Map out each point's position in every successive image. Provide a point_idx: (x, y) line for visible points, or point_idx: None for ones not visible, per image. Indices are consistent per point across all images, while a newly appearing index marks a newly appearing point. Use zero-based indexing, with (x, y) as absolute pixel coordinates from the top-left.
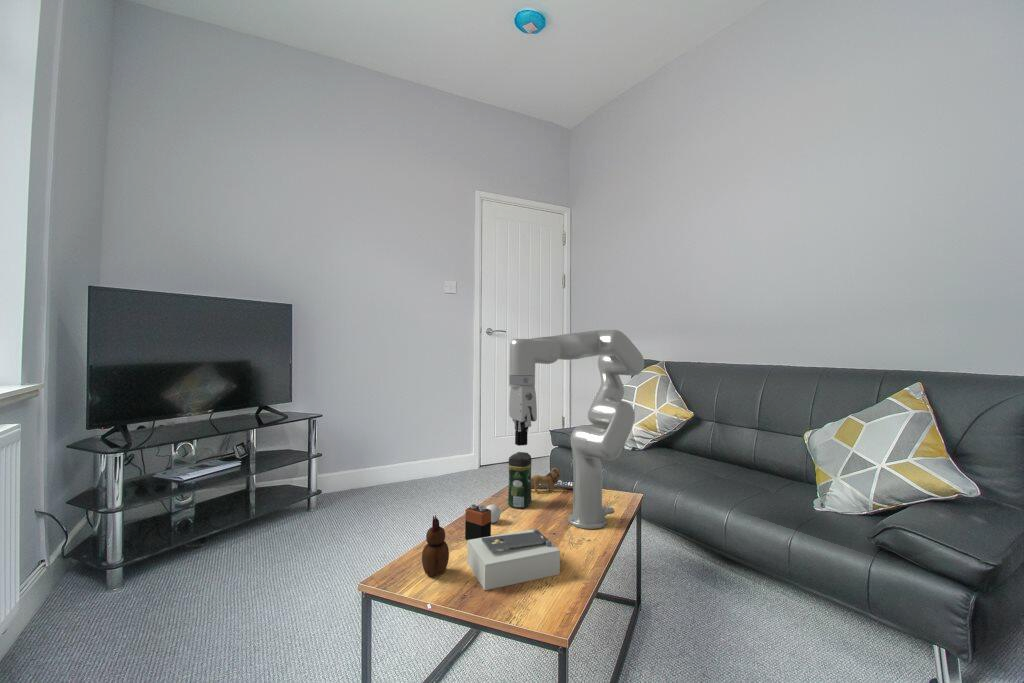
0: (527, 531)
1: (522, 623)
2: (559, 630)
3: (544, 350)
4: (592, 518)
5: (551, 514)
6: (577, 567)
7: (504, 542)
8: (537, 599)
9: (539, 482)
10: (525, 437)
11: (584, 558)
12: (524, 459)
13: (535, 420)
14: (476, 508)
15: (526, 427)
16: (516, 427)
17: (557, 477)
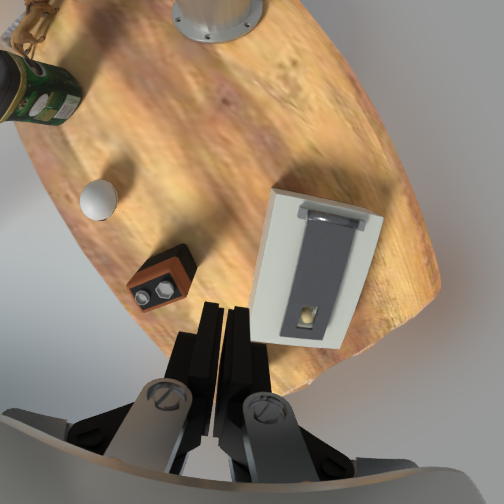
0: (277, 219)
1: (404, 316)
2: (435, 289)
3: None
4: (249, 9)
5: (138, 53)
6: (366, 164)
7: (314, 305)
8: (388, 278)
9: (28, 31)
10: (267, 369)
11: (350, 128)
12: (3, 80)
13: (454, 474)
14: (149, 293)
15: (311, 453)
16: (186, 461)
17: None
